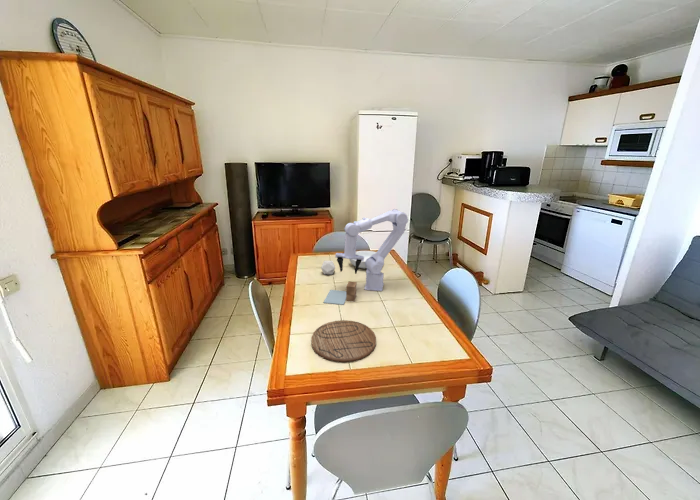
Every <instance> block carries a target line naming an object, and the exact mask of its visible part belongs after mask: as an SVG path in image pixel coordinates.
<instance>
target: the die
mask: <svg viewBox="0 0 700 500" xmlns="http://www.w3.org/2000/svg"><path fill="white" fill-rule="evenodd" d="M320 268H321V270H322V273H323V275H326V276H327V275H331V276H332V275H334V272H335V269H336V266H335V263H334V261H333V260H323V262H322V265H321V267H320Z"/></svg>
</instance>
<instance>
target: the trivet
mask: <svg viewBox="0 0 700 500" xmlns="http://www.w3.org/2000/svg"><path fill="white" fill-rule="evenodd" d="M311 335H312V336H311V339H310V341H311V348H312V350H313V352H314V353H316V355H318V357H320V358H322V359H324V360H327V361H330V362H334V363H344V364H345V363H353V362H358V361H360V360H363V359H365V358H367V357H368V356H369V355H371V354H372V353H373V352H374V350H375V349H376V345H377V344H376V343H377V336H376V334H375V332H374V331H373V330H372V329H371V327H369V326H367V325H366V324H364V323H361V322H360V321H354V320H345V319H343V320H335V321H330V322H326V323H324V324H322V325H321V326H319V327H317V328H316V329H315V330H314V332H313V333H312V334H311Z"/></svg>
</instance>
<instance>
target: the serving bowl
mask: <svg viewBox="0 0 700 500" xmlns="http://www.w3.org/2000/svg"><path fill="white" fill-rule="evenodd" d="M376 252H377V251H372V250H359V251H358V250H356V254H355V255H359V256H364V261H361V263H360V265H359V267H358V269H359V268H361V269H367V267H366V266H365V261H366V260H367V259H368V258H370V257H371V256H372V255H373V254H375V253H376ZM348 260H349V262H350V263H351V264H352V266H354V267H356V260H354V259H348Z"/></svg>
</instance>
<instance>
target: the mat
mask: <svg viewBox="0 0 700 500" xmlns="http://www.w3.org/2000/svg"><path fill="white" fill-rule="evenodd" d="M346 302H347V301H346V290H339V289H337V290H336V289H329V291H328V292H327V295H326V297H325V298H324V301H323V304H329V305H341V306H344V305H345V303H346Z"/></svg>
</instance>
